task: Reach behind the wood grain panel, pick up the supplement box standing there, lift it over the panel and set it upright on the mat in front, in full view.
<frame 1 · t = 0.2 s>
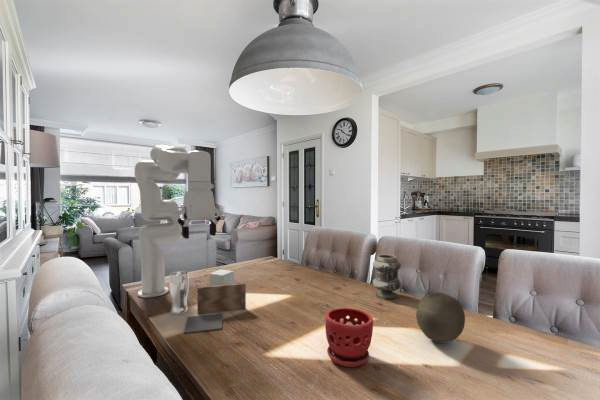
hand: (199, 236, 101), 31 cm above the table, tool pointing down, fingers open, 9 cm apart
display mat: (204, 323, 103), on the table
wood grain panel: (222, 310, 113), on the table
supplement box: (222, 302, 123), on the table
apothecary jar: (386, 296, 131), on the table
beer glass: (179, 312, 113), on the table
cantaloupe: (439, 342, 91), on the table
plant pot: (348, 357, 82), on the table
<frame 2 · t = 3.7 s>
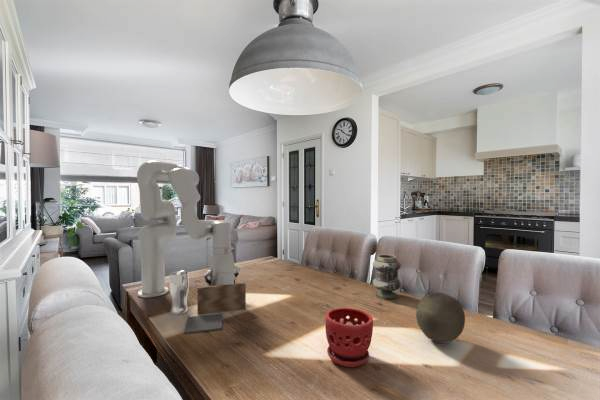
hand: (222, 291, 123), 4 cm above the table, tool pointing down, fingers closed on supplement box, 9 cm apart
supplement box: (222, 302, 123), on the table, touching gripper
everything else where it was.
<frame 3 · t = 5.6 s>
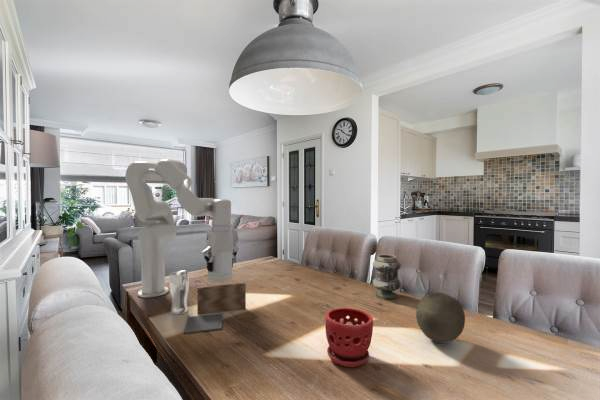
hand: (220, 269, 123), 14 cm above the table, tool pointing down, fingers closed on supplement box, 9 cm apart
supplement box: (219, 280, 123), point 9 cm above the table, touching gripper
everything else where it was.
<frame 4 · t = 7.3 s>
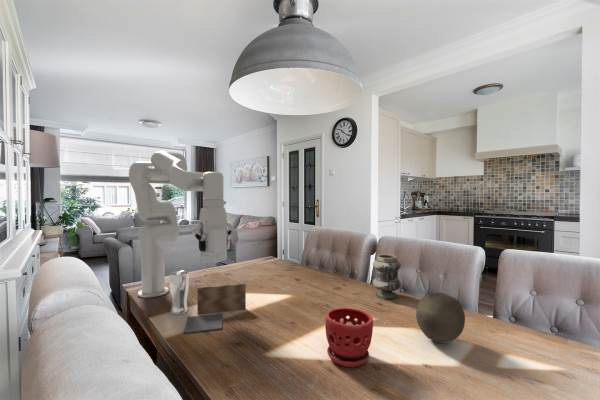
hand: (213, 249, 112), 24 cm above the table, tool pointing down, fingers closed on supplement box, 9 cm apart
supplement box: (213, 261, 112), point 20 cm above the table, touching gripper
everything else where it was.
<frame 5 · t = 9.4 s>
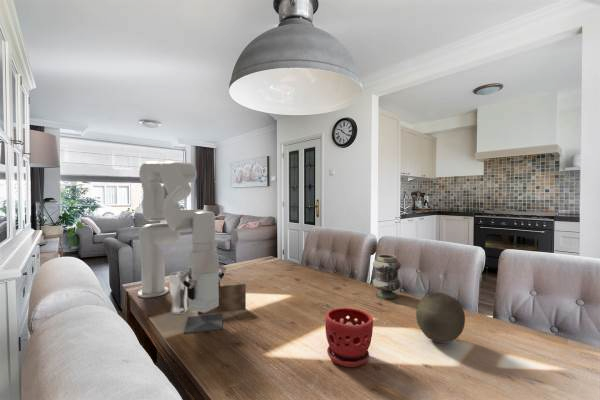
hand: (204, 295, 102), 10 cm above the table, tool pointing down, fingers closed on supplement box, 9 cm apart
supplement box: (204, 308, 103), point 5 cm above the table, touching gripper
everything else where it was.
when the fingers open (5 cm above the table, at t = 11.0 s): supplement box stays where it is, resting on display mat.
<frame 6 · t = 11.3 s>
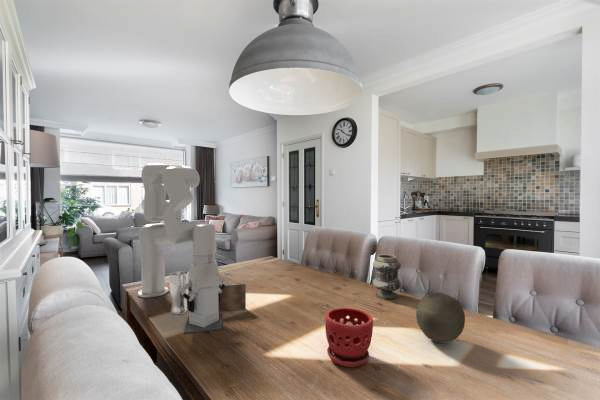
hand: (204, 307, 102), 6 cm above the table, tool pointing down, fingers open, 9 cm apart
supplement box: (204, 322, 103), resting on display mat
everything else where it was.
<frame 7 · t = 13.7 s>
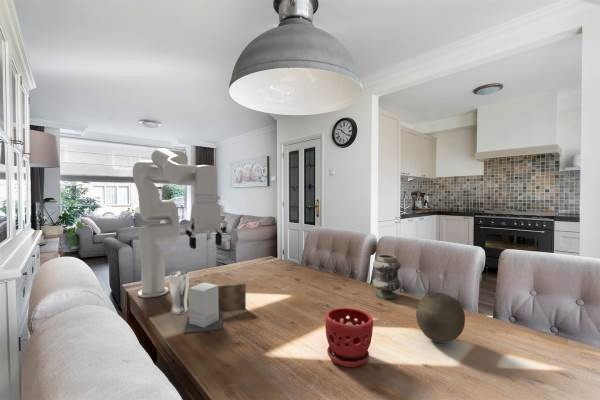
hand: (206, 246, 106), 26 cm above the table, tool pointing down, fingers open, 9 cm apart
nothing on the table moved.
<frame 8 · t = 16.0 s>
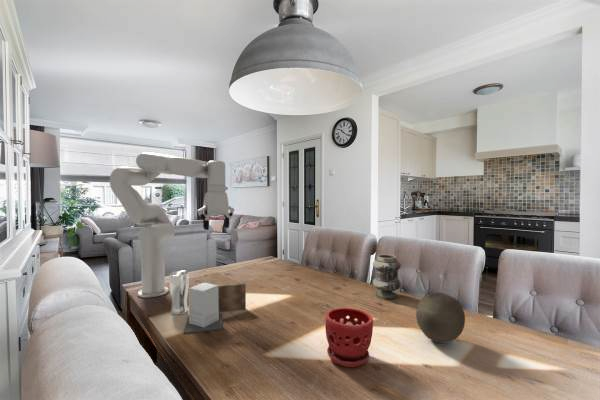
hand: (216, 228, 127), 30 cm above the table, tool pointing down, fingers open, 9 cm apart
nothing on the table moved.
at the end: supplement box inside the target area on the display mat (0.3 cm from its centre), point 0.3 cm above the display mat's base; supplement box tilted 0°; the gripper is holding nothing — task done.
